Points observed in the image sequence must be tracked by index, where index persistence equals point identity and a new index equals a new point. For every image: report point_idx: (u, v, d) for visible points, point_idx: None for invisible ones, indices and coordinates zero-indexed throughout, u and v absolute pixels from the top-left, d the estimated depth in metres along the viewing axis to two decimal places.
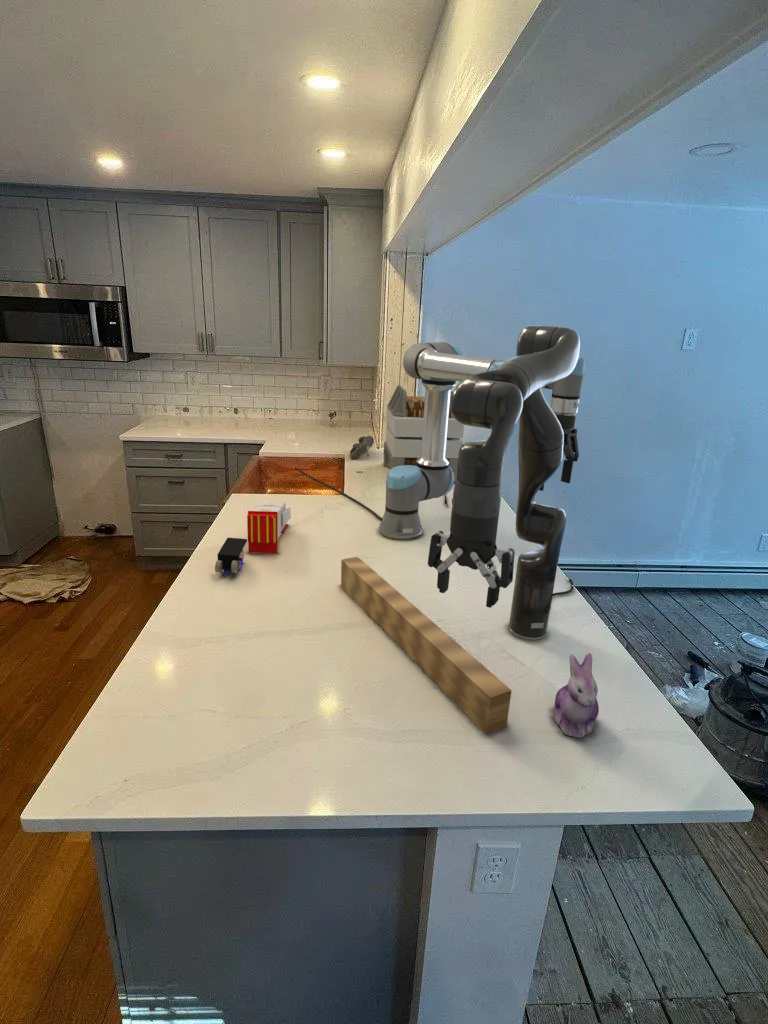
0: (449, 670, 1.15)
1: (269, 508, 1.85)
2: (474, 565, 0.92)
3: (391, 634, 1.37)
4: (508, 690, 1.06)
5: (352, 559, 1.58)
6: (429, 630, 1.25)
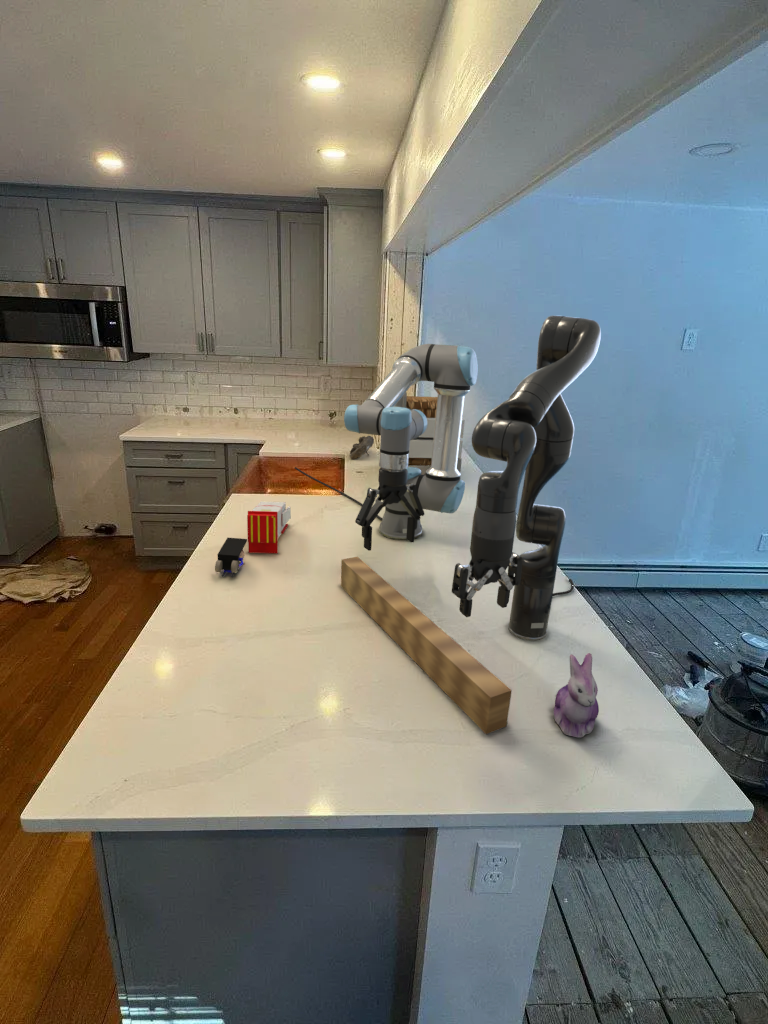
0: (449, 670, 1.15)
1: (269, 508, 1.85)
2: None
3: (391, 634, 1.37)
4: (508, 690, 1.06)
5: (352, 559, 1.58)
6: (429, 630, 1.25)
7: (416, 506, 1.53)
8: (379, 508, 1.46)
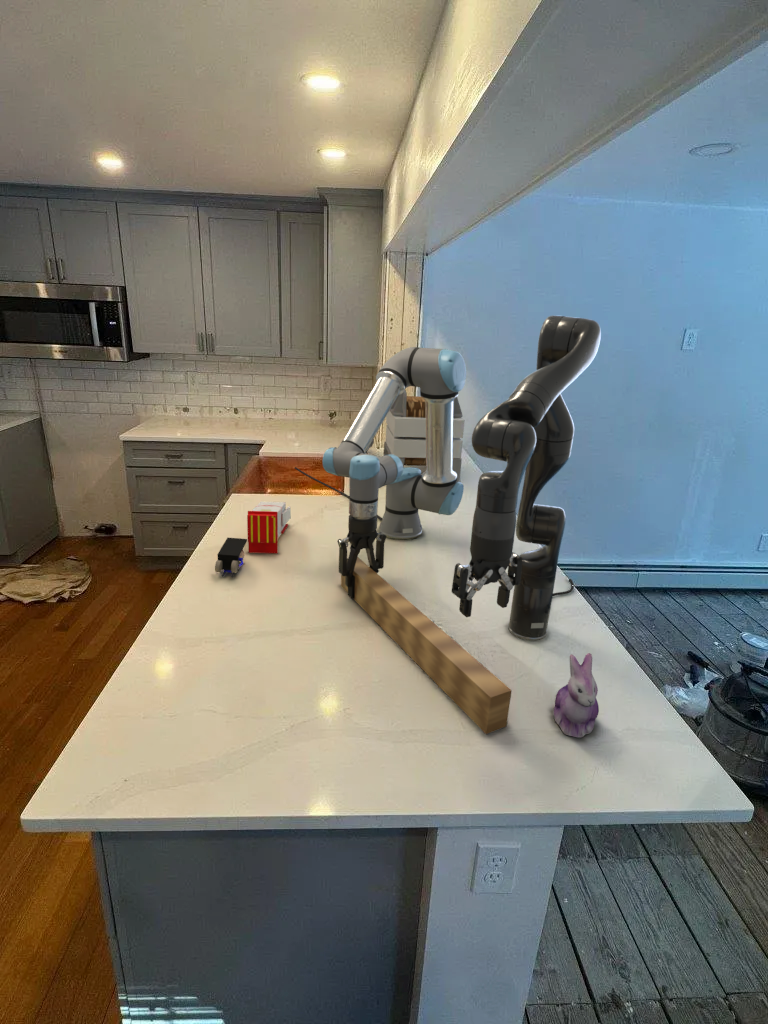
0: (449, 670, 1.15)
1: (269, 508, 1.85)
2: None
3: (391, 634, 1.37)
4: (508, 690, 1.06)
5: None
6: (429, 630, 1.25)
7: (378, 557, 1.54)
8: (355, 556, 1.49)
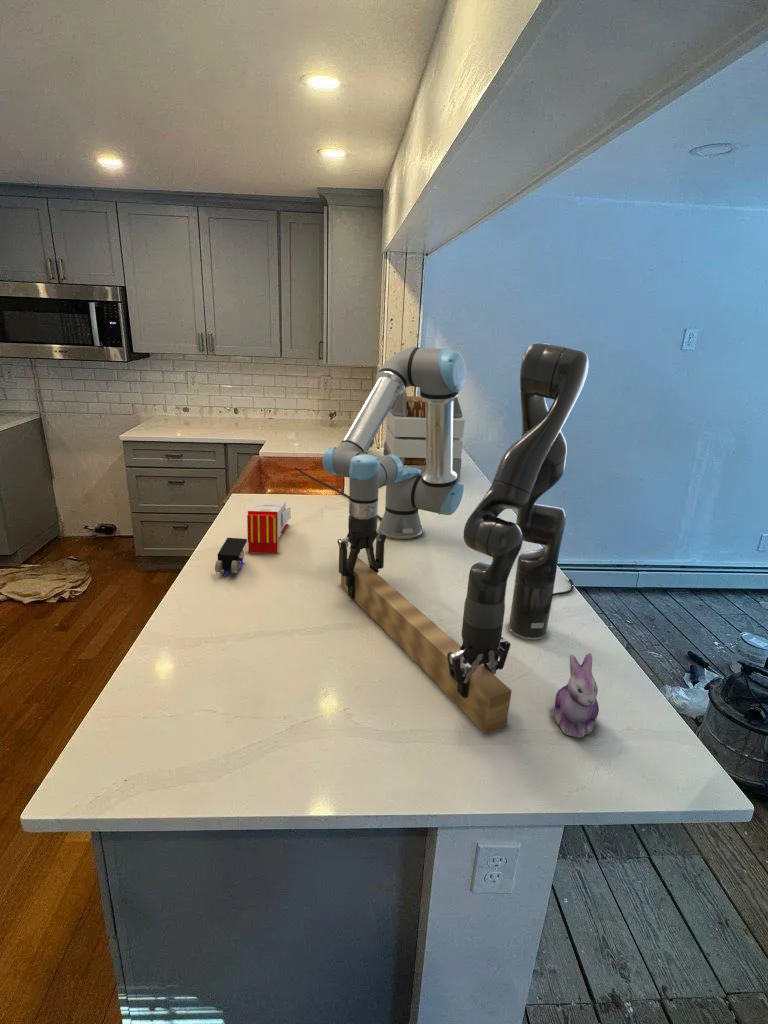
0: None
1: (269, 508, 1.85)
2: None
3: (391, 634, 1.37)
4: (508, 690, 1.06)
5: None
6: (429, 630, 1.25)
7: (378, 557, 1.54)
8: (355, 556, 1.49)
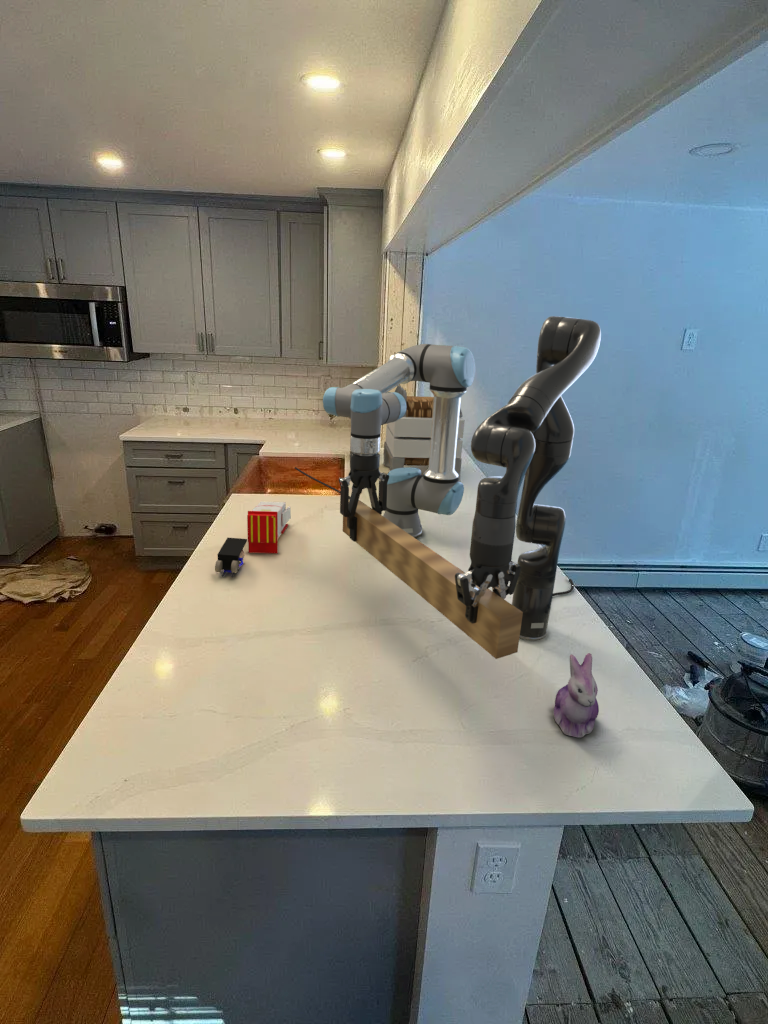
0: (456, 598, 1.10)
1: (269, 508, 1.85)
2: None
3: (395, 572, 1.31)
4: (519, 612, 1.01)
5: None
6: (435, 561, 1.19)
7: (381, 498, 1.48)
8: (357, 496, 1.44)
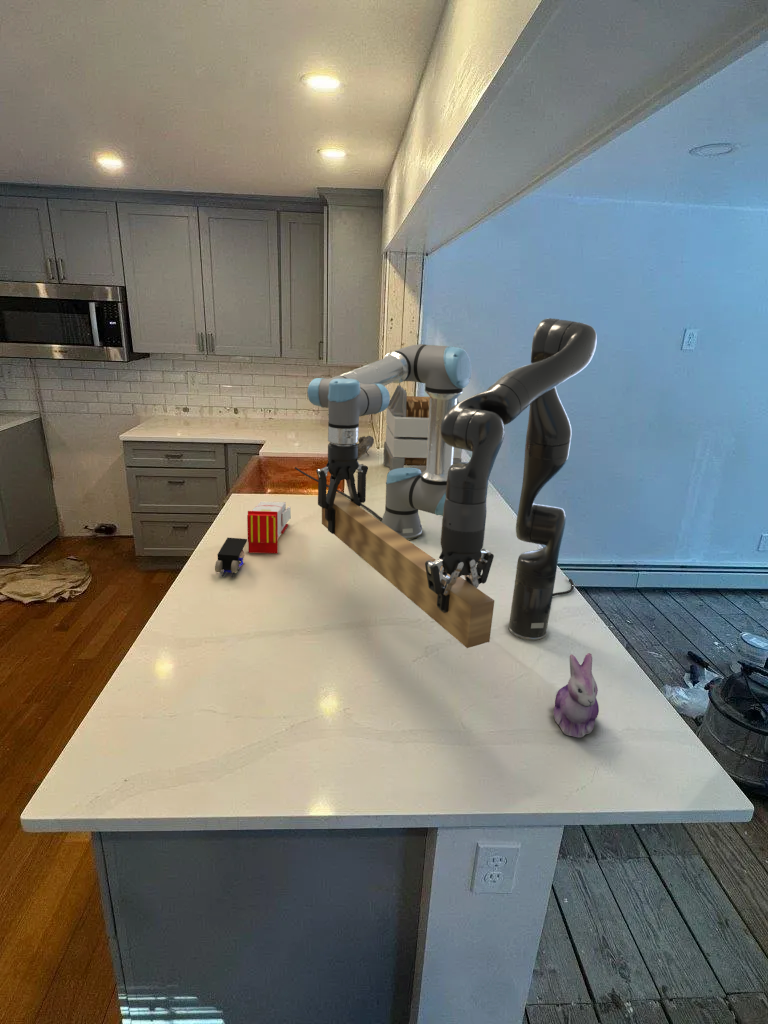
0: None
1: (269, 508, 1.85)
2: None
3: (371, 563, 1.29)
4: (491, 600, 0.99)
5: None
6: (410, 551, 1.18)
7: (360, 490, 1.47)
8: (335, 487, 1.42)
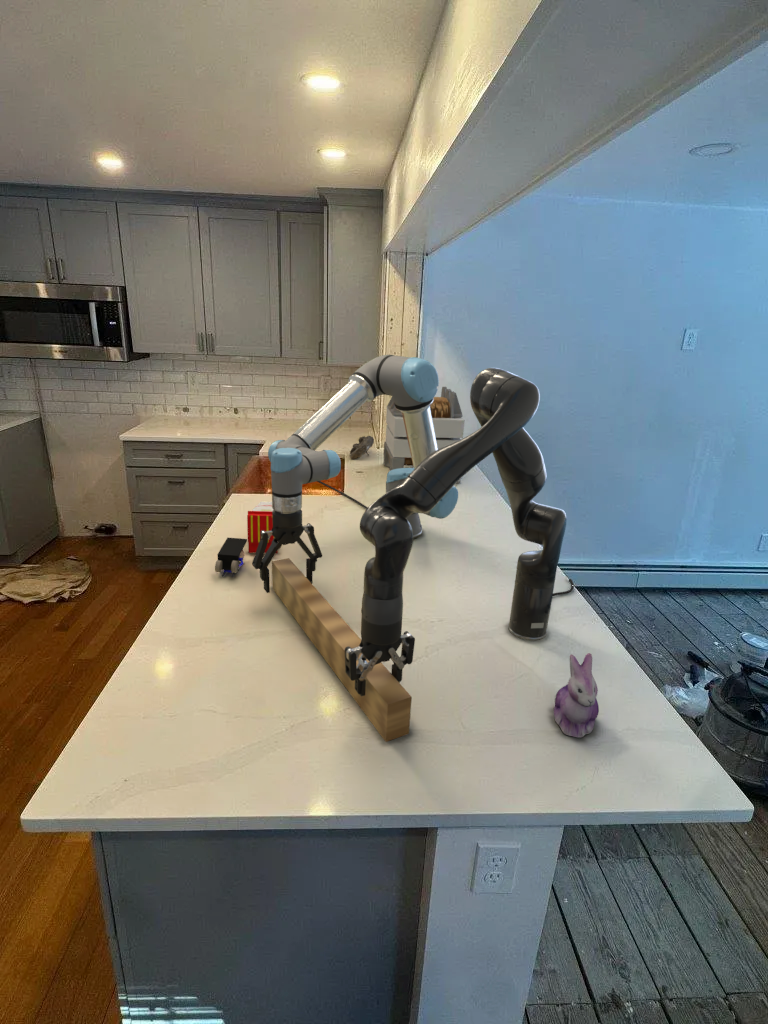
0: None
1: (269, 508, 1.85)
2: None
3: (311, 638, 1.34)
4: (408, 697, 1.03)
5: (283, 560, 1.55)
6: (343, 634, 1.22)
7: (314, 547, 1.51)
8: (274, 550, 1.45)
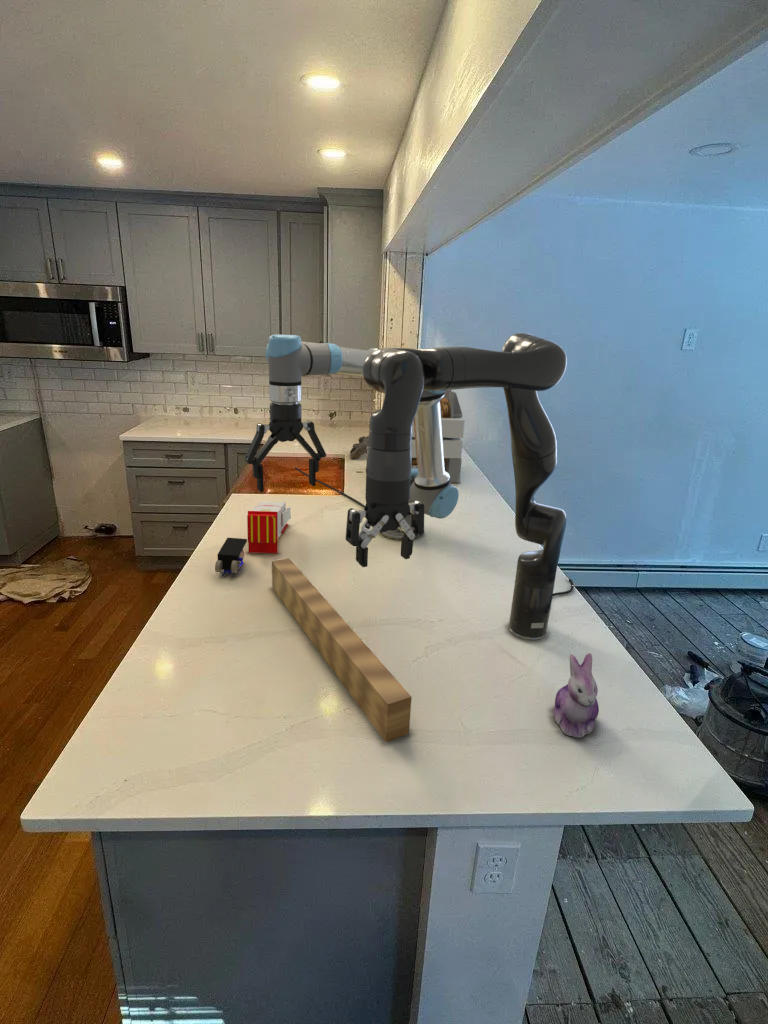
0: (355, 676, 1.12)
1: (269, 508, 1.85)
2: None
3: (311, 638, 1.34)
4: (408, 697, 1.03)
5: (283, 560, 1.55)
6: (343, 634, 1.22)
7: (316, 446, 1.42)
8: (270, 445, 1.35)
